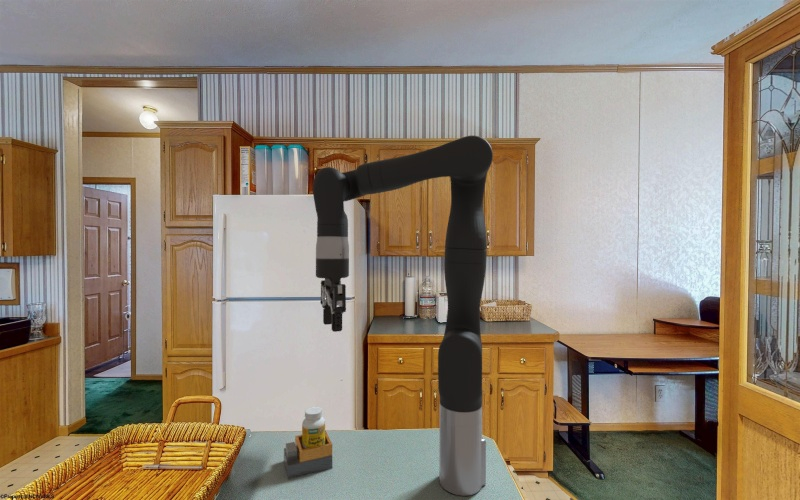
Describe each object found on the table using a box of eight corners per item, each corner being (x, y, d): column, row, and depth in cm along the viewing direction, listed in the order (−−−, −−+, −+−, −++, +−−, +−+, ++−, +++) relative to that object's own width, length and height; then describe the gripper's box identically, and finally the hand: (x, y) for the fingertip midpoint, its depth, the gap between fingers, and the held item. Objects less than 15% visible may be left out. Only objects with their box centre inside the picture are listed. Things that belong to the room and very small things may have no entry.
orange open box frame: (325, 451, 90) (325, 429, 90) (332, 468, 83) (332, 444, 83) (283, 460, 86) (283, 438, 86) (287, 479, 79) (287, 454, 79)
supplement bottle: (320, 442, 89) (320, 403, 89) (328, 452, 84) (328, 411, 84) (299, 448, 86) (299, 408, 86) (306, 459, 81) (306, 417, 81)
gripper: (357, 257, 77) (357, 332, 77) (340, 256, 90) (340, 320, 90) (322, 257, 74) (322, 335, 74) (310, 256, 87) (310, 323, 87)
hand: (332, 327), depth 82 cm, fingers open, 8 cm apart
